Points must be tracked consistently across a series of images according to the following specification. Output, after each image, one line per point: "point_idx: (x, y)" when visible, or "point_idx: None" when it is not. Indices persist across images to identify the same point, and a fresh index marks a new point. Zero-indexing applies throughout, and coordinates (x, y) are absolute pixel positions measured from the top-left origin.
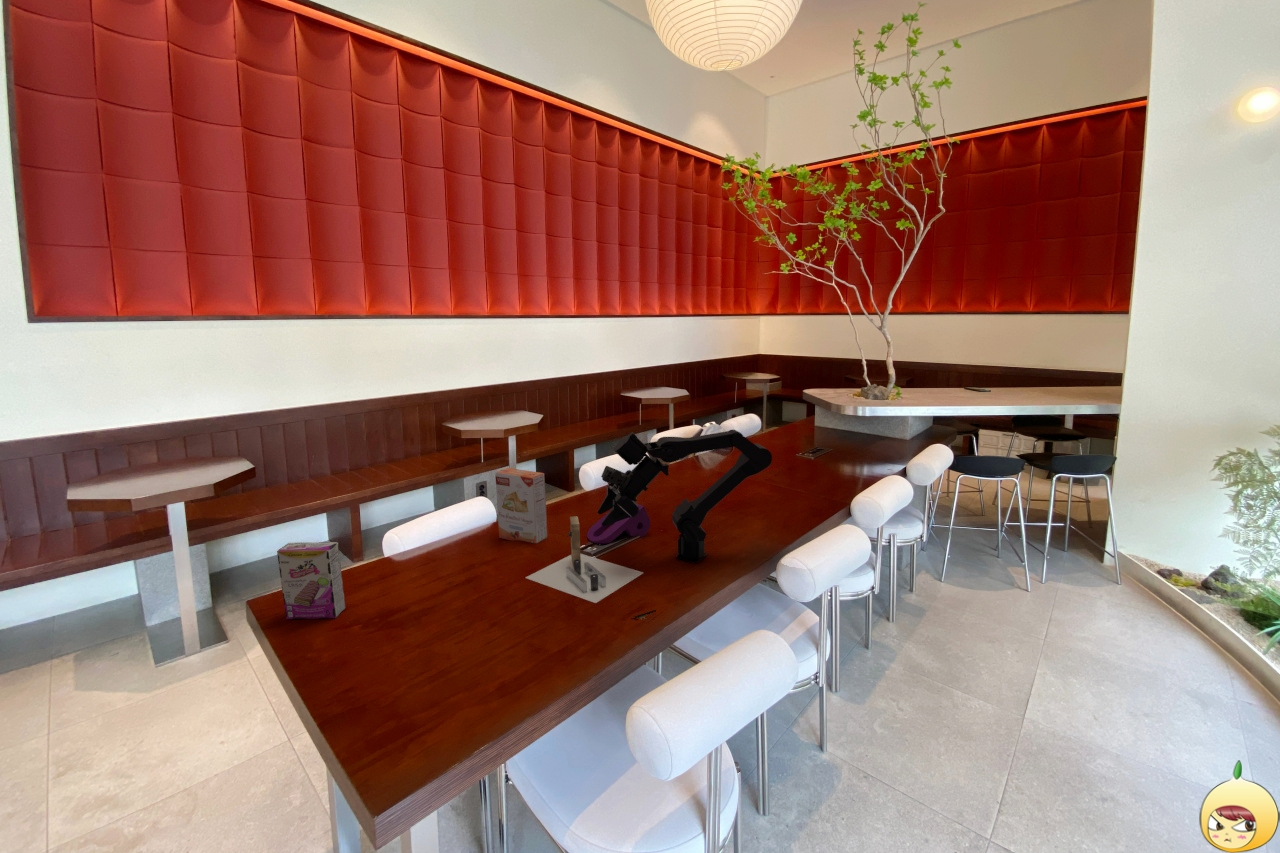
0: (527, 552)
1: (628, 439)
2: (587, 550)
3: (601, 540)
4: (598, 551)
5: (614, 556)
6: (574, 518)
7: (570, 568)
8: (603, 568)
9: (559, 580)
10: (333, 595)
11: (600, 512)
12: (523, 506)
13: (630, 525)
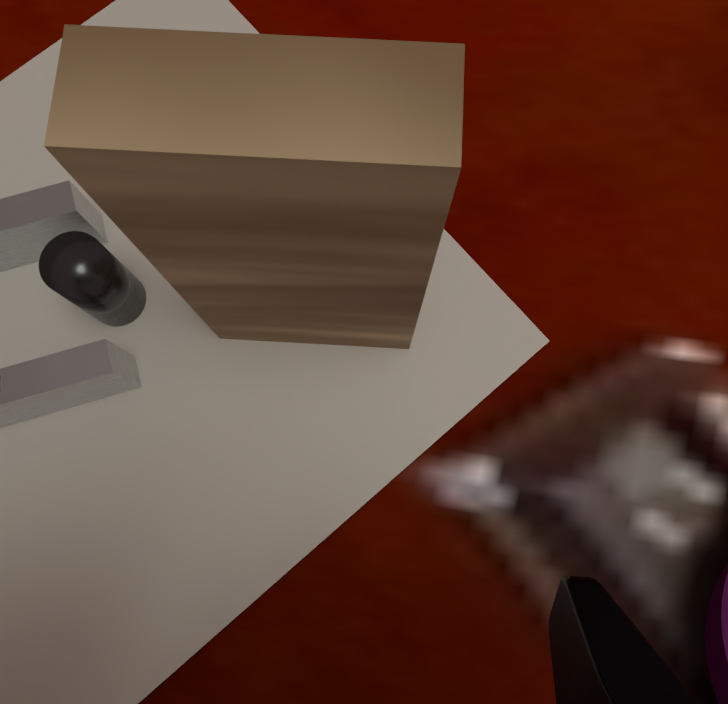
0: (682, 7)
1: None
2: (636, 458)
3: (718, 610)
4: (595, 552)
5: (451, 680)
6: (353, 103)
7: (31, 210)
8: (149, 521)
9: (57, 161)
10: None
11: (560, 644)
12: None
13: None
